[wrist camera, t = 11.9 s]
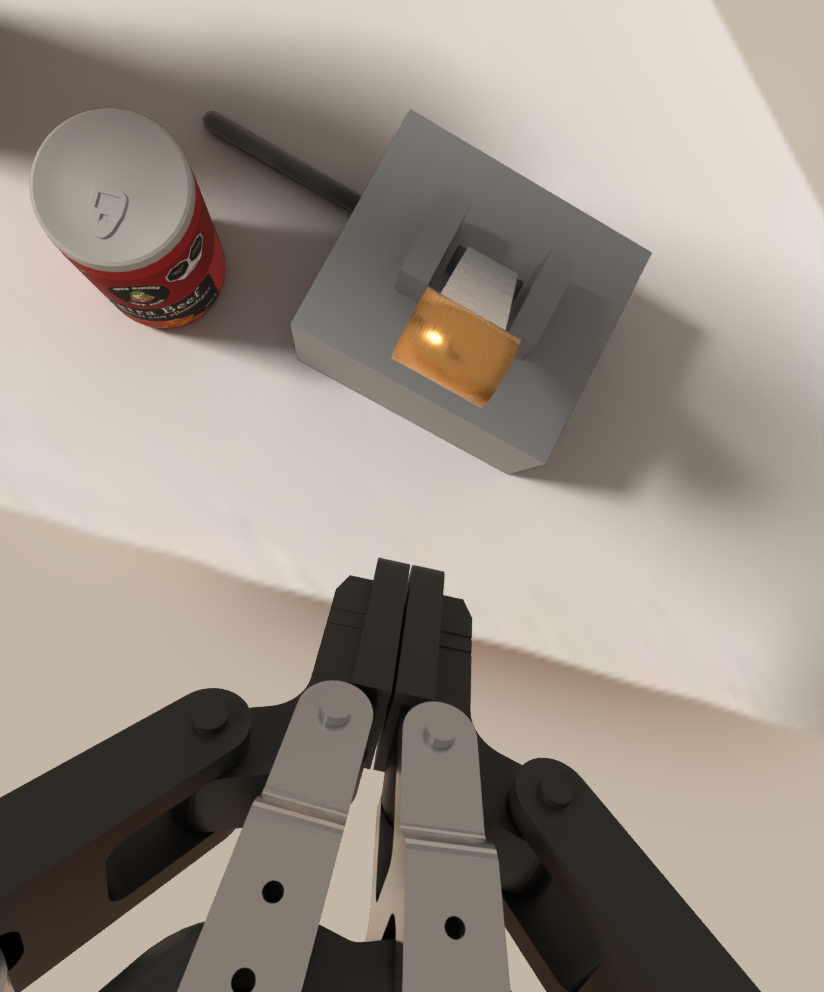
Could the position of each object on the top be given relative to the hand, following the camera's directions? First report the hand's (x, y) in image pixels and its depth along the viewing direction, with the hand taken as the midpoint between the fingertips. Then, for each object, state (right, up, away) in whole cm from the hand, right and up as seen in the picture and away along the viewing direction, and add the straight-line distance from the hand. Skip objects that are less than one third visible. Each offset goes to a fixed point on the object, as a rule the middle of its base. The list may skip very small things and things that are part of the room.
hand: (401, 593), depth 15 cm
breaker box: (-3, +17, +30) cm, 34 cm away
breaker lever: (+4, +14, +21) cm, 25 cm away
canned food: (-16, +17, +28) cm, 36 cm away
